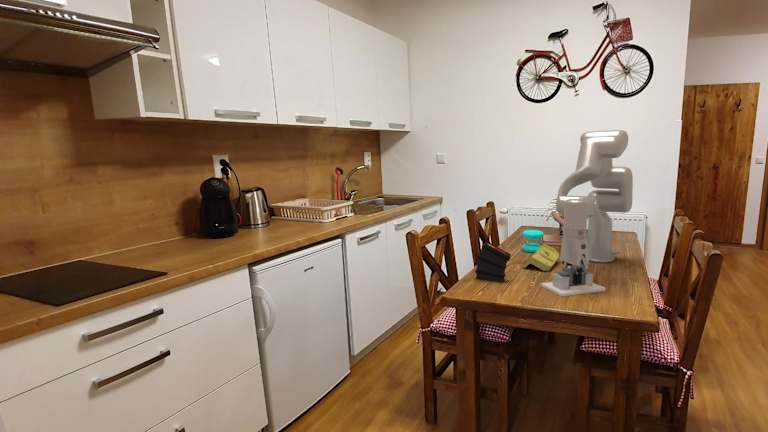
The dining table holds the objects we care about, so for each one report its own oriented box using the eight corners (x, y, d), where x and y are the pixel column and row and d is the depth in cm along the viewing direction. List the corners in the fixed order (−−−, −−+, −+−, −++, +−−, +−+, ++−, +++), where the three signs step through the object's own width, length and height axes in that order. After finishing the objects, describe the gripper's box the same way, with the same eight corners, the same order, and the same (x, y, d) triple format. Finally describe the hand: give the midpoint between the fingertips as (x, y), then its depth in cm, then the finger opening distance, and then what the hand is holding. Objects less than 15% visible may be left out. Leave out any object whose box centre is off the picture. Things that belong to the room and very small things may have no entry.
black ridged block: (470, 271, 171) (486, 240, 166) (499, 288, 167) (516, 257, 162) (467, 274, 168) (483, 243, 163) (497, 291, 164) (514, 259, 159)
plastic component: (550, 267, 171) (528, 254, 175) (542, 281, 175) (521, 268, 179) (561, 253, 187) (541, 242, 191) (554, 266, 190) (534, 254, 194)
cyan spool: (546, 230, 207) (541, 234, 199) (545, 249, 209) (540, 254, 200) (525, 228, 213) (520, 232, 204) (525, 247, 214) (520, 252, 206)
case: (584, 247, 211) (585, 216, 209) (540, 245, 219) (541, 215, 216) (580, 239, 230) (582, 210, 228) (540, 237, 238) (541, 209, 235)
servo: (581, 280, 155) (582, 262, 154) (589, 283, 151) (590, 265, 150) (555, 283, 153) (556, 265, 152) (562, 287, 149) (563, 268, 148)
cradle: (582, 280, 160) (582, 267, 159) (605, 290, 149) (606, 276, 148) (541, 285, 156) (541, 272, 155) (561, 296, 145) (562, 281, 144)
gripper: (600, 236, 142) (598, 287, 145) (568, 228, 158) (566, 274, 161) (581, 238, 140) (579, 290, 143) (550, 229, 156) (549, 276, 159)
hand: (572, 281), depth 152 cm, fingers open, 4 cm apart
